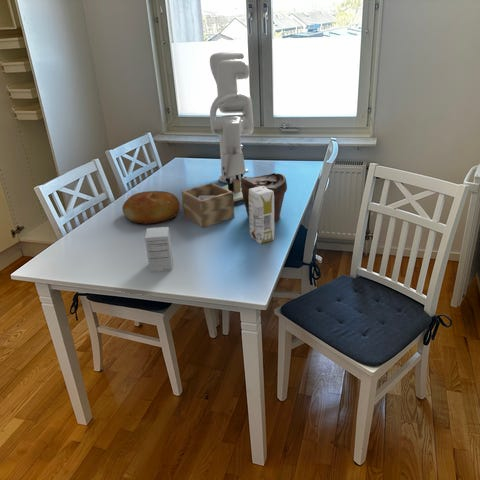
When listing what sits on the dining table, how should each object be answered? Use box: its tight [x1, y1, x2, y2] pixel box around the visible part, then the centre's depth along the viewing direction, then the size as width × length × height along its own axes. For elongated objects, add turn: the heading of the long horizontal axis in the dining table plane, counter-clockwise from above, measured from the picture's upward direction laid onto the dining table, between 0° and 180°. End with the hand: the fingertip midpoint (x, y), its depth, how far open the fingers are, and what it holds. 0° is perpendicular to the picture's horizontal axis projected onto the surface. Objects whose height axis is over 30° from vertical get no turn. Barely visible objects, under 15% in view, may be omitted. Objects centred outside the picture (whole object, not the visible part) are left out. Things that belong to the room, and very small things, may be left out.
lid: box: [221, 178, 243, 202], centre depth 199 cm, size 17×17×6 cm
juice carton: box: [248, 186, 275, 245], centre depth 158 cm, size 8×9×19 cm
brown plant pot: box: [240, 173, 288, 223], centre depth 175 cm, size 18×20×18 cm
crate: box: [180, 182, 235, 229], centre depth 180 cm, size 15×15×11 cm
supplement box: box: [144, 226, 174, 273], centre depth 144 cm, size 7×7×13 cm
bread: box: [121, 190, 181, 225], centre depth 184 cm, size 23×23×10 cm
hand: (234, 189), depth 199 cm, fingers closed on lid, 3 cm apart
